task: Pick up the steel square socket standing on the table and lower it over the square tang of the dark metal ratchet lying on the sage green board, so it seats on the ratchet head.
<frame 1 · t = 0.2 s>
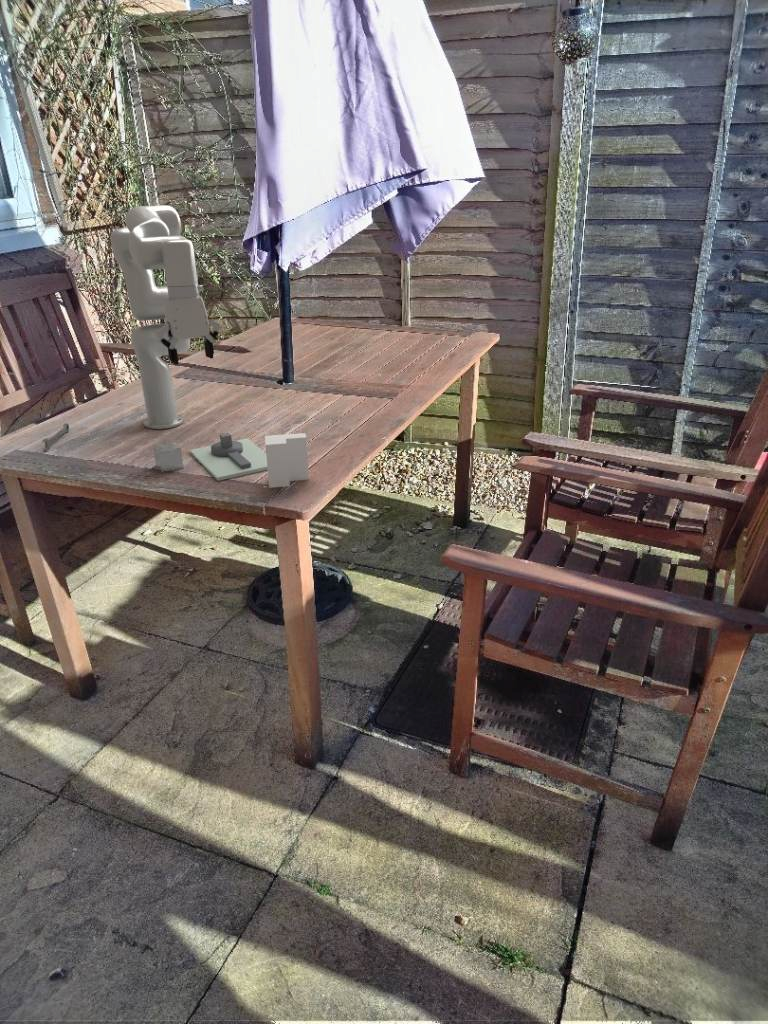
hand: (192, 360, 183), 30 cm above the table, tool pointing down, fingers open, 9 cm apart
socket: (169, 466, 198), on the table
corner bracket: (288, 478, 190), on the table
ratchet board: (233, 459, 202), on the table
combination wrench: (56, 442, 218), on the table
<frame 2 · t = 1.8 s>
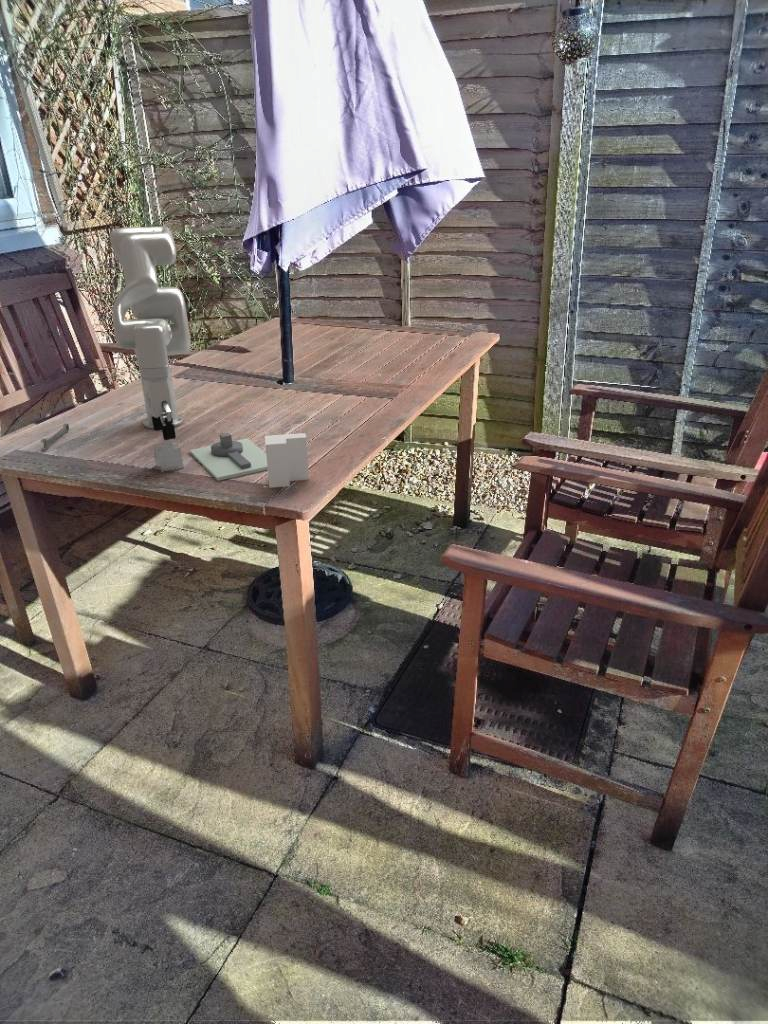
hand: (164, 434, 193), 10 cm above the table, tool pointing down, fingers open, 9 cm apart
nothing on the table moved.
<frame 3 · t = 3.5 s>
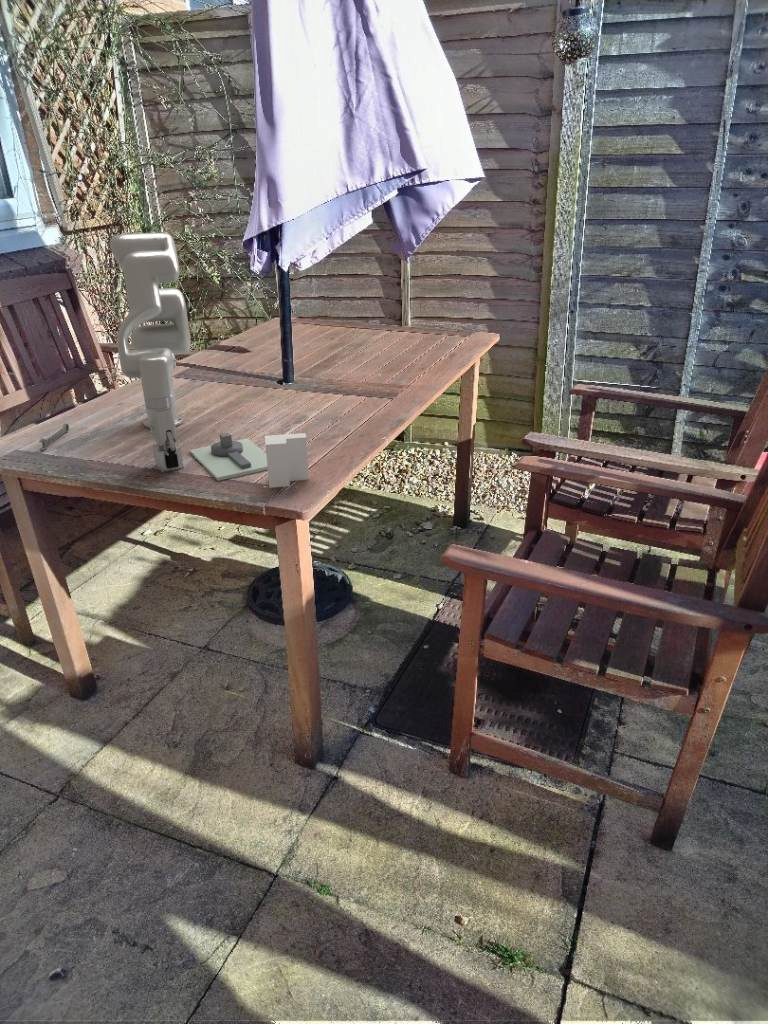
hand: (169, 463, 197), 1 cm above the table, tool pointing down, fingers closed on socket, 6 cm apart
socket: (169, 466, 198), on the table, touching gripper
everything else where it was.
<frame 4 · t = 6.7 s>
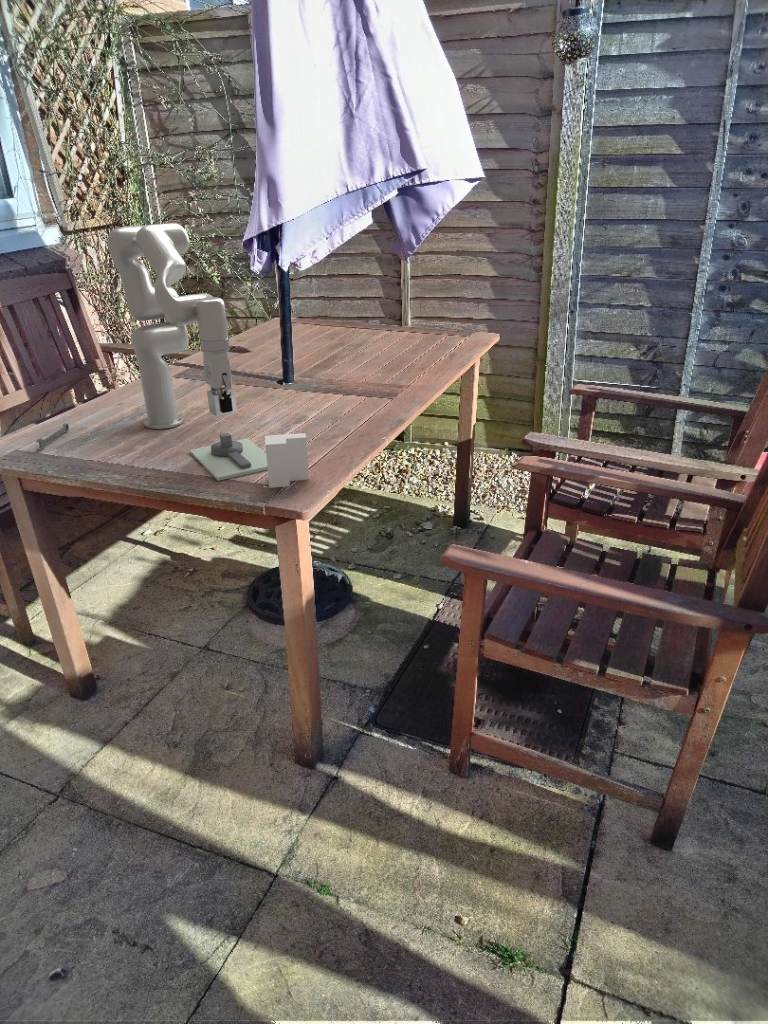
hand: (222, 408, 199), 14 cm above the table, tool pointing down, fingers closed on socket, 6 cm apart
socket: (223, 412, 200), point 13 cm above the table, touching gripper
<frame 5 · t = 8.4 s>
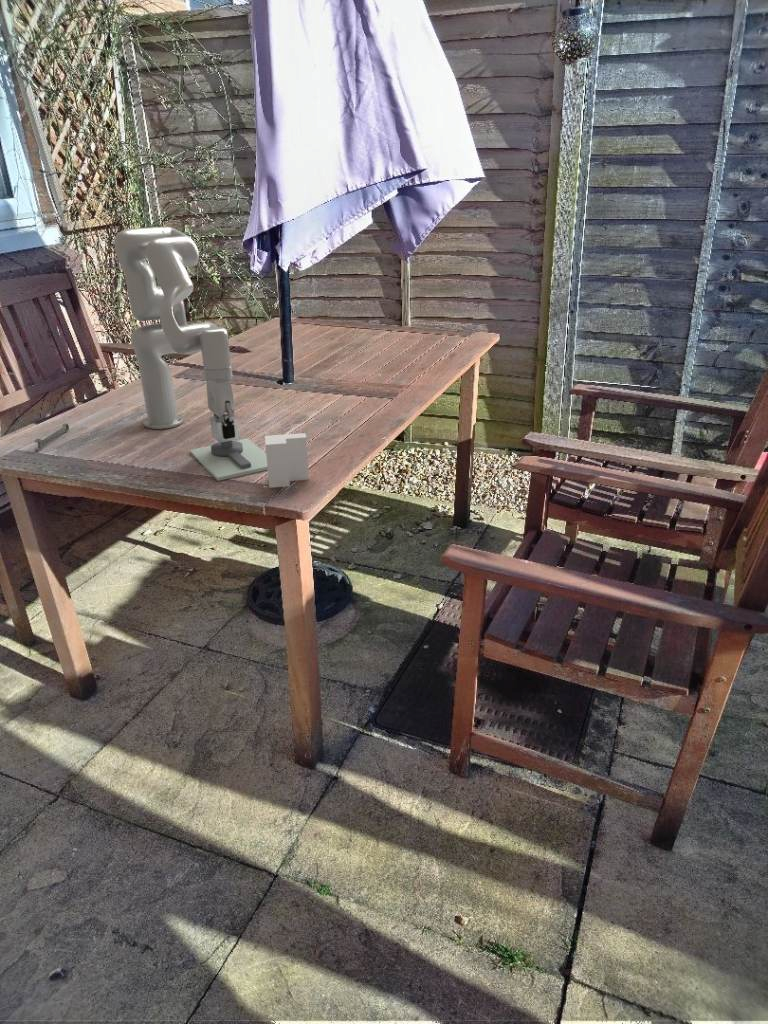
hand: (225, 434, 203), 6 cm above the table, tool pointing down, fingers closed on socket, 6 cm apart
socket: (225, 437, 203), point 5 cm above the table, touching gripper
when the fingers open (4 cm above the table, at t = 9.8 s): socket stays where it is, resting on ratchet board.
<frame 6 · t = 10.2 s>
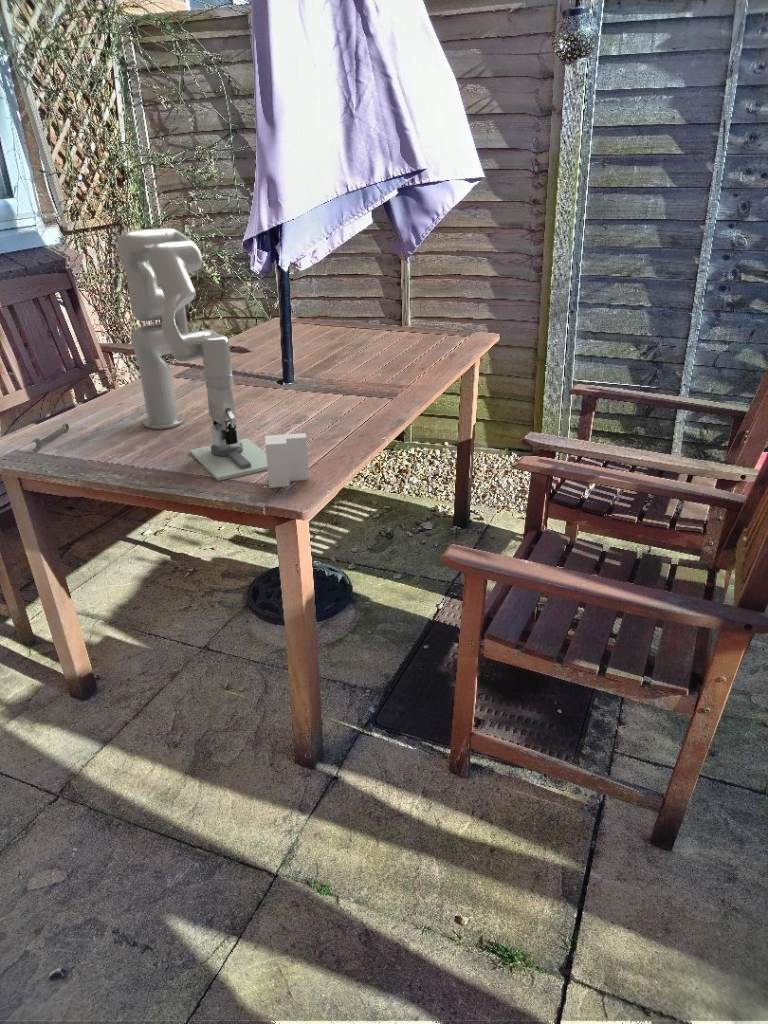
hand: (225, 438, 204), 5 cm above the table, tool pointing down, fingers open, 9 cm apart
socket: (226, 446, 205), point 3 cm above the table, touching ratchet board
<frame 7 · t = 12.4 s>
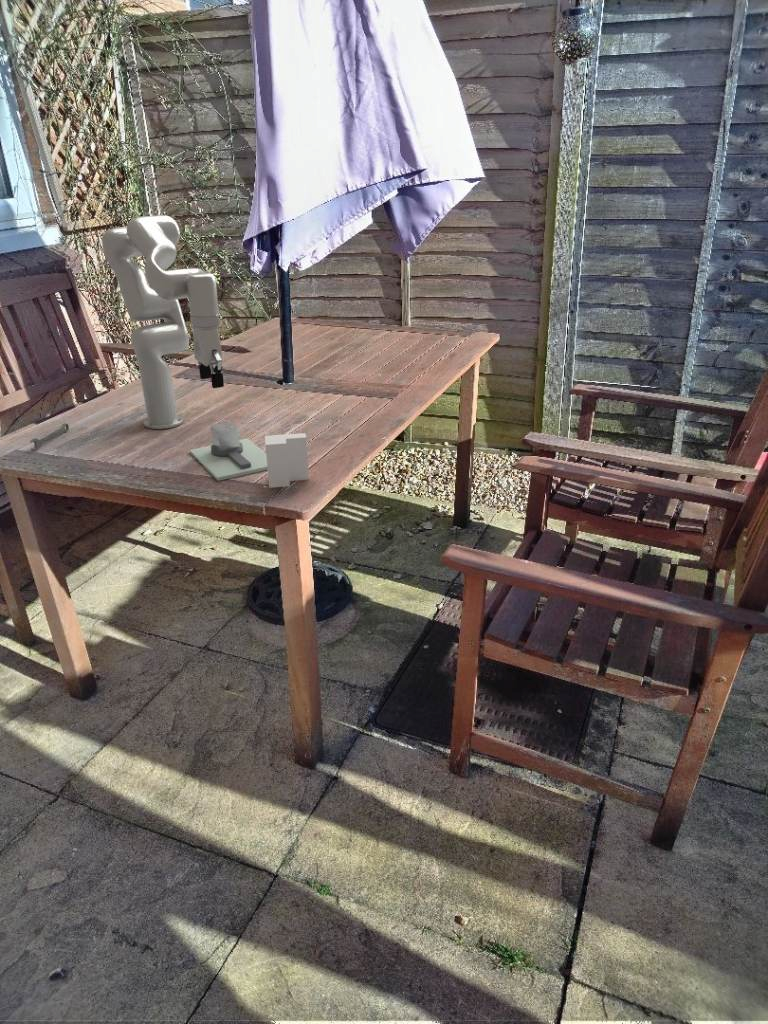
hand: (212, 382, 198), 21 cm above the table, tool pointing down, fingers open, 9 cm apart
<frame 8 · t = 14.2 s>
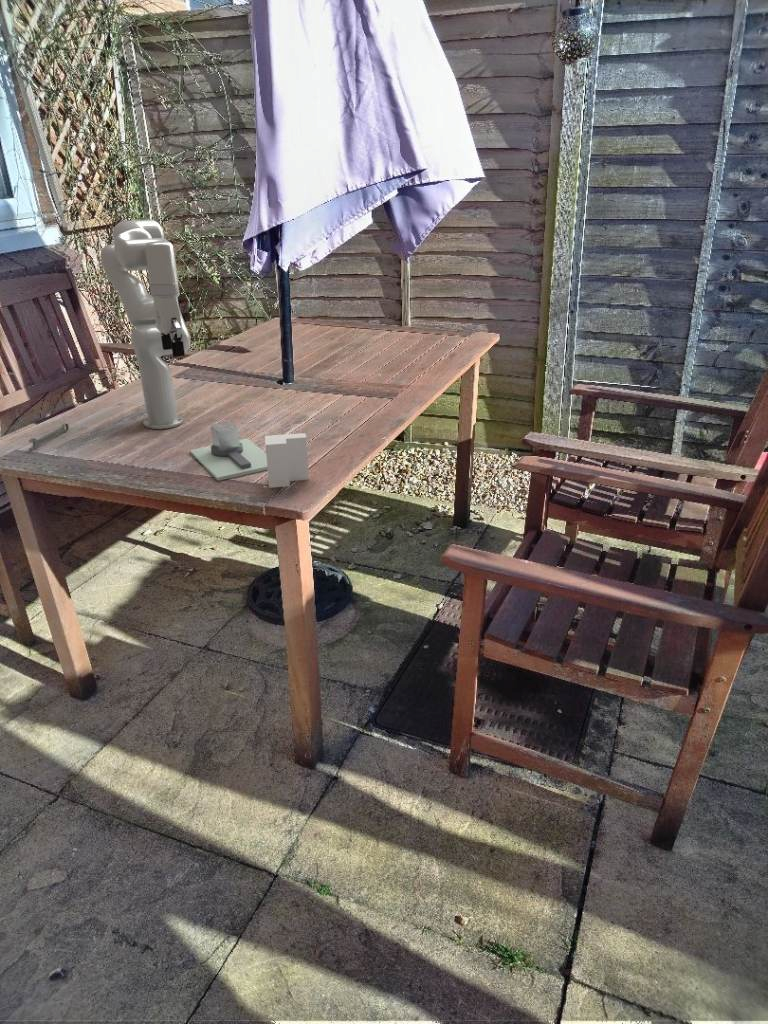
hand: (173, 352, 199), 28 cm above the table, tool pointing down, fingers open, 9 cm apart
at the end: socket 0.1 cm from the target spot on the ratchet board, point 2.6 cm above the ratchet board's base; socket tilted 0°; the gripper is holding nothing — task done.
